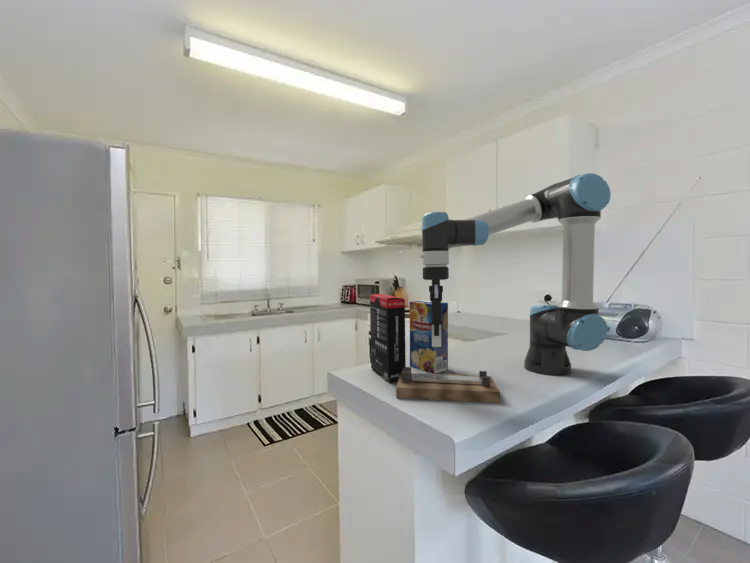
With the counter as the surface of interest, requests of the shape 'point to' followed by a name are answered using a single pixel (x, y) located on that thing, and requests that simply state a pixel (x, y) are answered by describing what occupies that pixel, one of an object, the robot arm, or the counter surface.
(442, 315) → the juice carton
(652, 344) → the counter surface
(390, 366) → the graphics card box
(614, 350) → the counter surface
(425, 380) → the latch bar
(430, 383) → the plate
